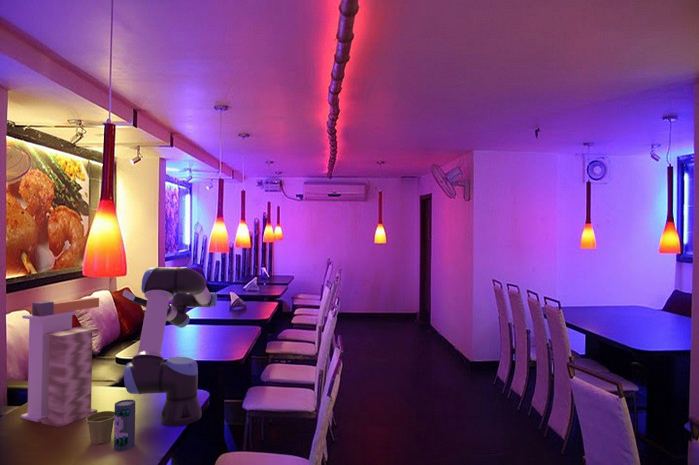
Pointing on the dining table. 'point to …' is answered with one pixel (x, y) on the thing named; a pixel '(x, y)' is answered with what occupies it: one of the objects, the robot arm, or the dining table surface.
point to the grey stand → (41, 361)
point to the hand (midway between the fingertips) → (135, 293)
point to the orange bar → (63, 306)
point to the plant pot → (100, 426)
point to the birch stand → (69, 375)
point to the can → (124, 425)
